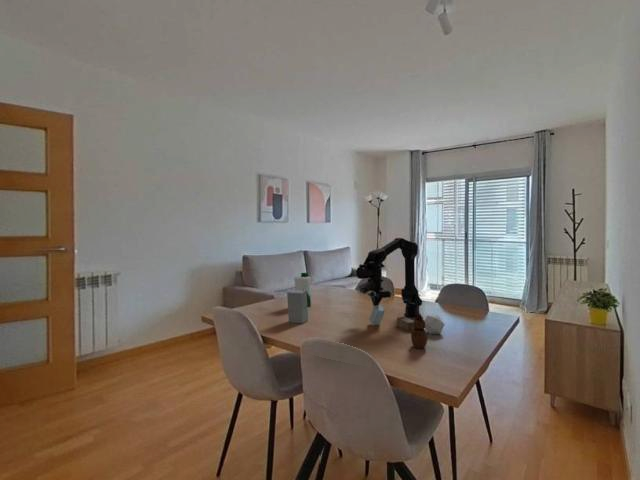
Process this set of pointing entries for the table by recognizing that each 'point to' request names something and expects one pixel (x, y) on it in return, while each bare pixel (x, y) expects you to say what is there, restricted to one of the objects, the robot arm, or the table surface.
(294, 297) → the skincare box
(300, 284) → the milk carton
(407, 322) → the walnut block
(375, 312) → the blue-grey block
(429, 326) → the die
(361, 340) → the table surface
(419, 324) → the wooden figurine
